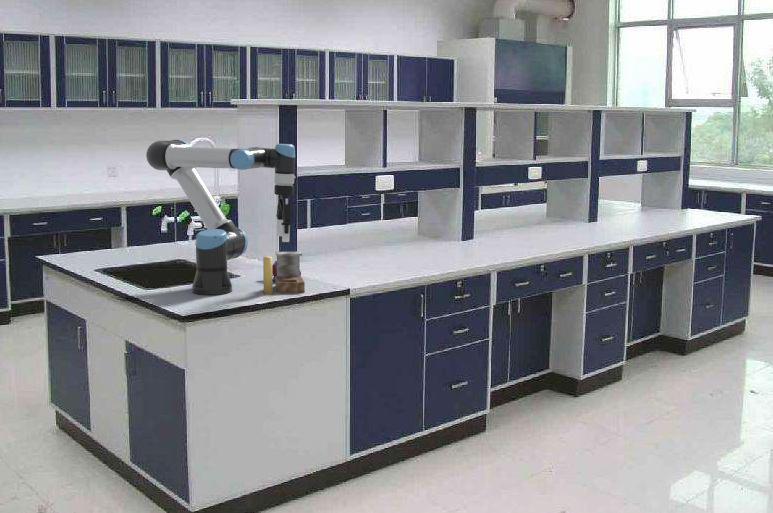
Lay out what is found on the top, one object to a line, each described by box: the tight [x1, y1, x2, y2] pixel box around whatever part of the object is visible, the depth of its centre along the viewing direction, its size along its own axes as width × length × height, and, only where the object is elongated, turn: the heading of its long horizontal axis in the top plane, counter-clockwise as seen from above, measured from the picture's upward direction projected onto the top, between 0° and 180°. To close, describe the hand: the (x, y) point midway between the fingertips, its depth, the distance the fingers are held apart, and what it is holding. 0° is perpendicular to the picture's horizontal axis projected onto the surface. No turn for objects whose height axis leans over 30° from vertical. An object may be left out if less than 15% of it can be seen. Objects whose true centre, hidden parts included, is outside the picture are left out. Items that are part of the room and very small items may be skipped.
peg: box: [262, 256, 273, 295], centre depth 323 cm, size 3×3×14 cm
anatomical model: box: [272, 260, 302, 282], centre depth 349 cm, size 12×10×15 cm
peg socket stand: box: [274, 251, 306, 294], centre depth 330 cm, size 10×14×14 cm
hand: (283, 238), depth 327 cm, fingers open, 13 cm apart
